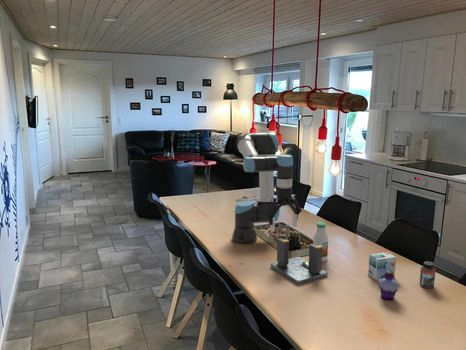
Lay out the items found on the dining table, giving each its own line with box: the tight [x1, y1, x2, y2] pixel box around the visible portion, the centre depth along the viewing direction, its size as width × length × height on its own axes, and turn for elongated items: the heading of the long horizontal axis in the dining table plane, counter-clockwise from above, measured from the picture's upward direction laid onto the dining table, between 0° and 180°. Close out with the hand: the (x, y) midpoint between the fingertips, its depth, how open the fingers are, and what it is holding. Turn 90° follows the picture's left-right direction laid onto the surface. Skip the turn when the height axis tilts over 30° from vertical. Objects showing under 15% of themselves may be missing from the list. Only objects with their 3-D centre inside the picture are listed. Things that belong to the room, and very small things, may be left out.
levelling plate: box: [270, 256, 328, 286], centre depth 192 cm, size 22×18×4 cm
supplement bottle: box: [419, 260, 436, 290], centre depth 176 cm, size 6×6×11 cm
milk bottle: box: [312, 222, 329, 263], centre depth 205 cm, size 8×8×20 cm
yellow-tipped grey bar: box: [276, 237, 290, 267], centre depth 194 cm, size 6×5×14 cm
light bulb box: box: [367, 251, 397, 281], centre depth 186 cm, size 11×7×11 cm, turn 105°
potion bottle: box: [378, 270, 400, 302], centre depth 166 cm, size 9×9×12 cm
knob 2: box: [308, 243, 323, 273], centre depth 187 cm, size 6×5×14 cm
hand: (283, 228), depth 192 cm, fingers open, 13 cm apart
